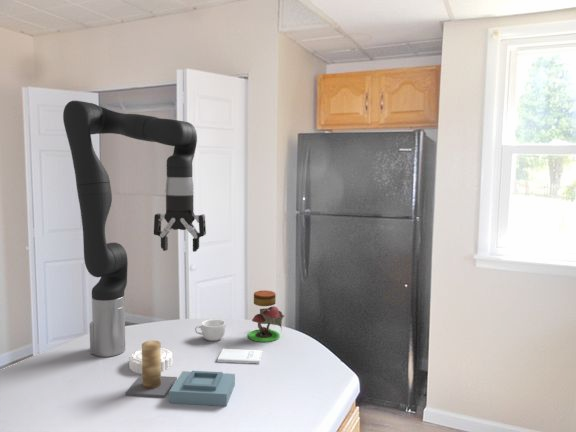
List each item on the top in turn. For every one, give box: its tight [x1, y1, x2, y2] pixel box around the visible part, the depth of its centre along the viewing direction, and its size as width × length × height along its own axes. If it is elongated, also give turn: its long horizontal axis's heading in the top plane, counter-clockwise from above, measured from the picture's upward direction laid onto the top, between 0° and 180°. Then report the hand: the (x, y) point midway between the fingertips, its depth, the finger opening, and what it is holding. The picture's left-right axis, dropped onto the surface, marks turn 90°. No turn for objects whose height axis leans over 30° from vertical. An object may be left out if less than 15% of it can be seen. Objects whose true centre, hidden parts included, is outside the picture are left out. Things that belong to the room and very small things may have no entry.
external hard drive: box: [217, 348, 264, 365], centre depth 141 cm, size 2×8×12 cm
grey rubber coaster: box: [124, 374, 178, 398], centre depth 121 cm, size 10×10×1 cm
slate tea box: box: [168, 370, 236, 407], centre depth 118 cm, size 14×11×4 cm
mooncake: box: [128, 347, 174, 375], centre depth 134 cm, size 12×12×4 cm
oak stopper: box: [141, 340, 162, 389], centre depth 121 cm, size 5×5×11 cm
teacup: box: [194, 318, 226, 342], centre depth 155 cm, size 10×8×5 cm
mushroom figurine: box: [248, 290, 285, 343], centre depth 158 cm, size 12×13×15 cm
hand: (180, 250), depth 132 cm, fingers open, 8 cm apart
